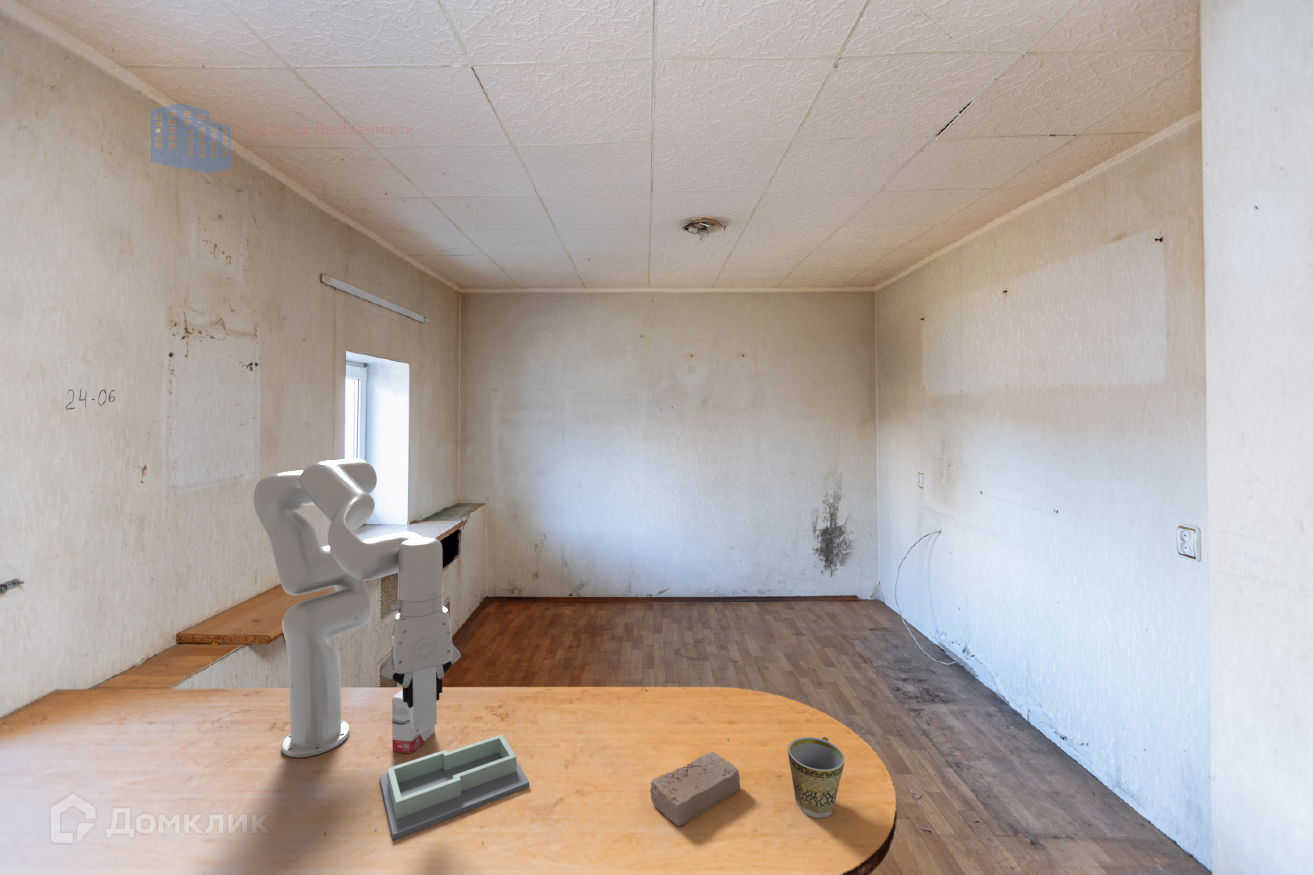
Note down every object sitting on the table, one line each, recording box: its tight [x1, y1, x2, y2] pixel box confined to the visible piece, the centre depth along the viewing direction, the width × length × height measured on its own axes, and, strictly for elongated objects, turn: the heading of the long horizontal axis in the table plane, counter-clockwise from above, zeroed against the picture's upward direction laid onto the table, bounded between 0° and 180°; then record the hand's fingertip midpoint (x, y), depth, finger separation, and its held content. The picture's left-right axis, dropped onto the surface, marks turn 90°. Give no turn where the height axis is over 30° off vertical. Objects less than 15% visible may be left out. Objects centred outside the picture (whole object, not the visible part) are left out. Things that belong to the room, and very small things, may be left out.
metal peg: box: [410, 666, 438, 731], centre depth 102 cm, size 4×4×12 cm
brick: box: [649, 751, 741, 827], centre depth 102 cm, size 17×8×5 cm, turn 129°
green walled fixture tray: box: [379, 733, 530, 841], centre depth 105 cm, size 18×24×4 cm
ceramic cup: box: [787, 736, 845, 819], centre depth 101 cm, size 13×10×10 cm
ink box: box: [391, 689, 436, 754], centre depth 119 cm, size 9×5×12 cm, turn 168°
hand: (422, 699), depth 102 cm, fingers closed on metal peg, 4 cm apart
